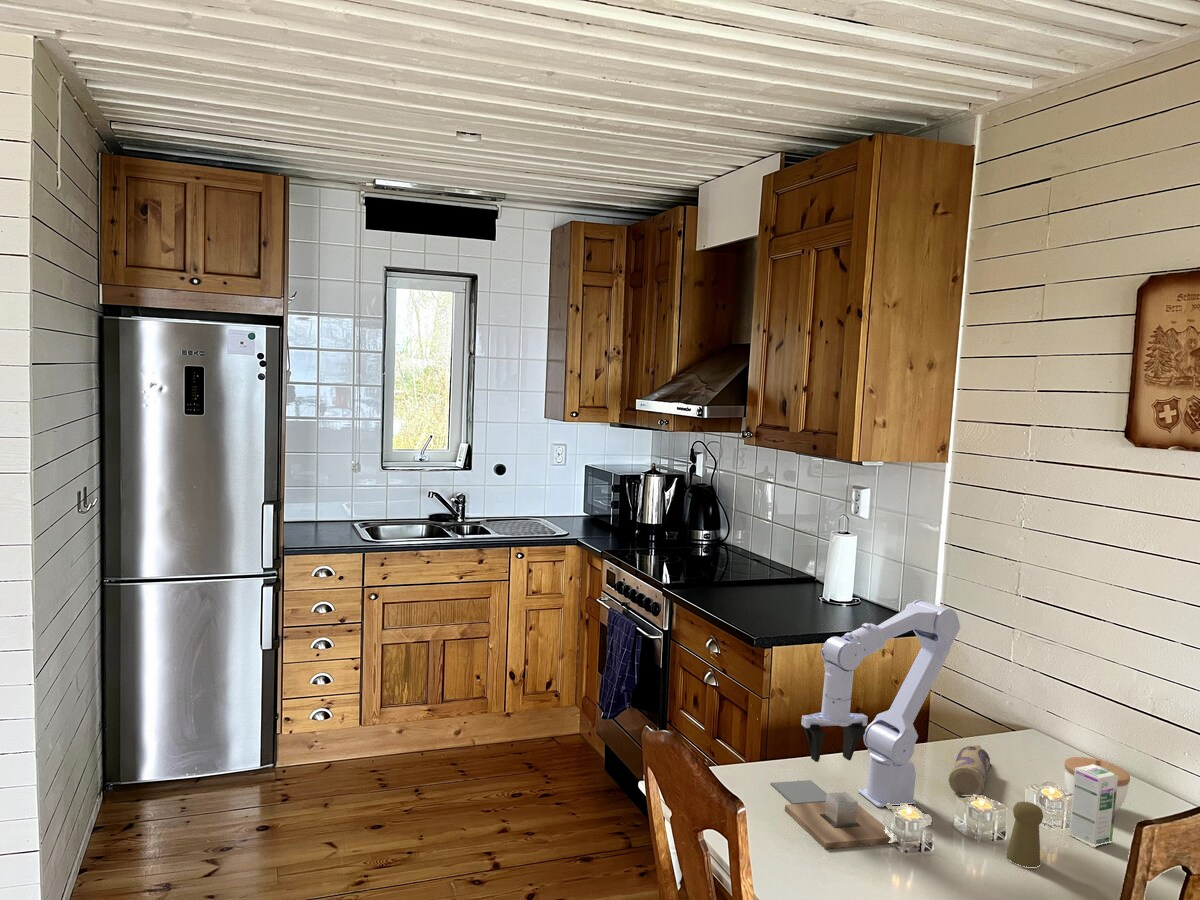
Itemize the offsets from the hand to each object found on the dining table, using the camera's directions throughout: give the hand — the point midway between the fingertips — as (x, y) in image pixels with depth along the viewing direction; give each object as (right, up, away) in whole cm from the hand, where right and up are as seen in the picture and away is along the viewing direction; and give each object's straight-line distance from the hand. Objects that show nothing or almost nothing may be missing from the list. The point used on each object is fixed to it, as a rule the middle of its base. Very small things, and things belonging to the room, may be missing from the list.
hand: (830, 759), depth 189 cm
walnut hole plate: (0, -11, -7) cm, 13 cm away
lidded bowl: (+60, -14, +10) cm, 63 cm away
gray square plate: (-4, -10, +7) cm, 13 cm away
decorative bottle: (+39, -12, +21) cm, 46 cm away
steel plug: (0, -11, -7) cm, 13 cm away
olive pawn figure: (+33, -14, -16) cm, 39 cm away
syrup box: (+51, -15, -5) cm, 54 cm away
